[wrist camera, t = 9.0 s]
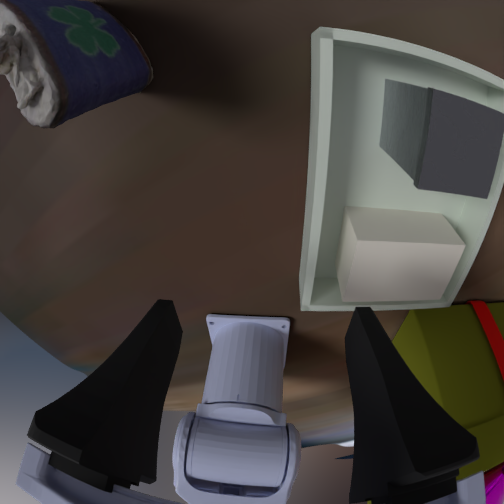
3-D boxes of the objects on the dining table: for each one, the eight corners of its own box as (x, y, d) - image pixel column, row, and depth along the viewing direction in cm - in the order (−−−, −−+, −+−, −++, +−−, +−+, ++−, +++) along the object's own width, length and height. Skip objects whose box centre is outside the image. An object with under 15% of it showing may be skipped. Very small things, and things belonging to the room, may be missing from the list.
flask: (68, 20, 11) (-55, 37, 3) (95, -9, 10) (-28, -17, 1) (133, 101, 16) (14, 161, 7) (166, 73, 14) (47, 103, 6)
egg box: (423, 265, 21) (440, 299, 18) (334, 263, 21) (342, 301, 18) (441, 213, 18) (465, 245, 15) (344, 205, 18) (357, 240, 15)
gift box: (355, 393, 37) (361, 546, 17) (377, 303, 25) (409, 575, 5) (468, 368, 33) (495, 500, 14) (524, 275, 21) (593, 458, 1)
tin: (437, 156, 15) (487, 199, 10) (377, 147, 16) (417, 189, 11) (446, 92, 12) (506, 114, 8) (383, 76, 13) (433, 88, 8)
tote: (435, 278, 22) (449, 306, 19) (299, 277, 23) (300, 310, 21) (489, 79, 11) (521, 89, 8) (310, 34, 12) (320, 26, 9)
